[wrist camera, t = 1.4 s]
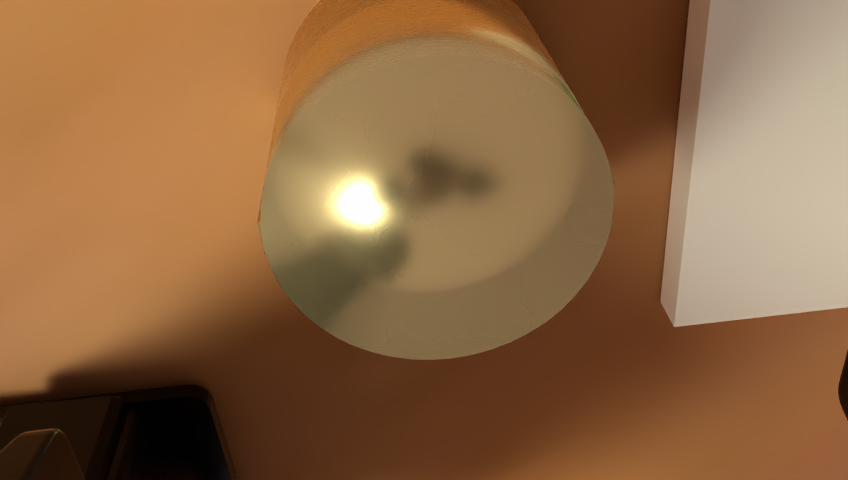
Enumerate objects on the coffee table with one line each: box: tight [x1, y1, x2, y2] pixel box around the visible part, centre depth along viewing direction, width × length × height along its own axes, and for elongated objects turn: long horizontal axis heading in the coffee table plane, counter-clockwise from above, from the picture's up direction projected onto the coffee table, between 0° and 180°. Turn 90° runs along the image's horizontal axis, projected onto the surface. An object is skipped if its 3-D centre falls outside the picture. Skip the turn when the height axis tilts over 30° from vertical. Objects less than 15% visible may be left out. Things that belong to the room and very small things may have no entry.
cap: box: [258, 0, 615, 360], centre depth 15 cm, size 5×6×5 cm
